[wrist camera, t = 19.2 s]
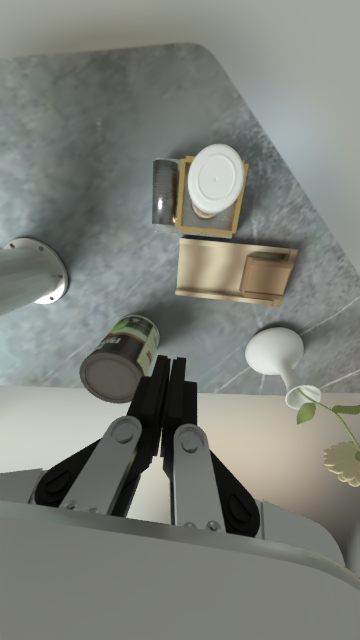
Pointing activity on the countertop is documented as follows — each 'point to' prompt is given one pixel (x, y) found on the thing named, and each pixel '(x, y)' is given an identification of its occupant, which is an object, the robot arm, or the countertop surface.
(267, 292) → the tan cardboard box
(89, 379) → the coffee can
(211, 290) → the tray
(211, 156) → the sprinkles bottle
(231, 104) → the countertop surface
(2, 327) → the countertop surface
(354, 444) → the flower in vase
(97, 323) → the countertop surface
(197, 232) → the gold open box
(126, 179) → the countertop surface
